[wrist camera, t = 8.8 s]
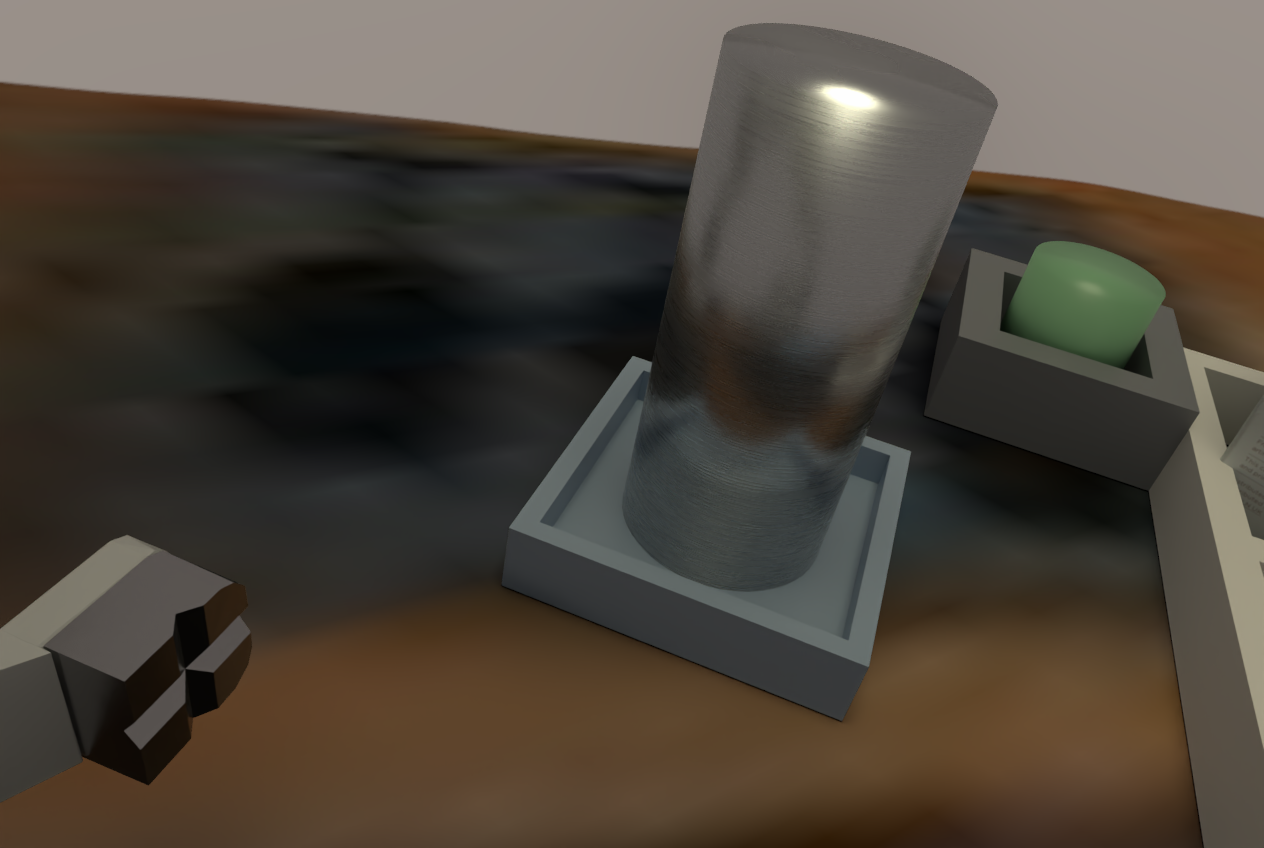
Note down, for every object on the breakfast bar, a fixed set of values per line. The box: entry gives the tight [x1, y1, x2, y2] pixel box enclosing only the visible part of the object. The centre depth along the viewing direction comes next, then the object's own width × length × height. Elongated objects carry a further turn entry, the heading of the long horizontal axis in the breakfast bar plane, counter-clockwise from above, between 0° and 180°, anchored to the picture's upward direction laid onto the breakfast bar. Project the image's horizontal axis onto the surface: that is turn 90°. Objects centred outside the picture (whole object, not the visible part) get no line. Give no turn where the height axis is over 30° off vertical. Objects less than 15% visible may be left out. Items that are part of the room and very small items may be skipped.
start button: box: [1000, 241, 1165, 369], centre depth 31 cm, size 4×4×4 cm
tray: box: [502, 356, 911, 721], centre depth 24 cm, size 8×8×2 cm
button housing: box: [924, 248, 1200, 491], centre depth 32 cm, size 7×7×3 cm
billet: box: [622, 23, 998, 592], centre depth 20 cm, size 5×5×11 cm
